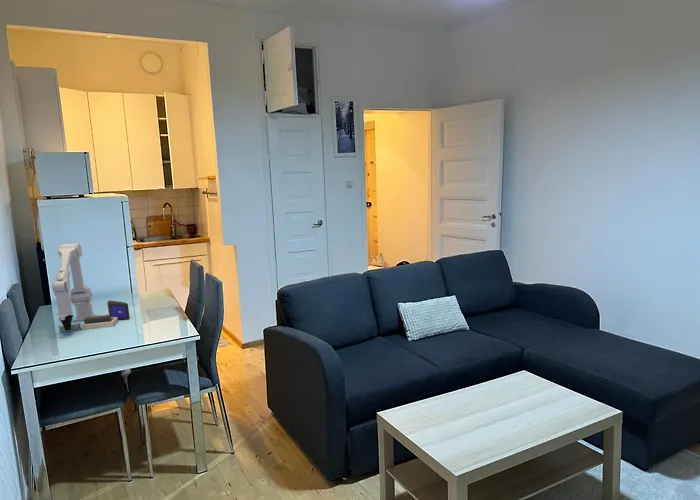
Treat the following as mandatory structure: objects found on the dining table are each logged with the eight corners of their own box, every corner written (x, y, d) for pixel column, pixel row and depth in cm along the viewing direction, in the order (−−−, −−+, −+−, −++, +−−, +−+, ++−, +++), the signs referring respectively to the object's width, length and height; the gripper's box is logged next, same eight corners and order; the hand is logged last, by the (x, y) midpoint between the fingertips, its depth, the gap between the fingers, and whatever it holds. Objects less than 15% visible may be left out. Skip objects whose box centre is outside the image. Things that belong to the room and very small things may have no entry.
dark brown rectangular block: (87, 326, 254) (85, 317, 253) (111, 323, 257) (110, 314, 256) (85, 328, 250) (83, 319, 249) (110, 325, 253) (109, 316, 252)
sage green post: (59, 332, 244) (58, 327, 243) (60, 332, 245) (59, 326, 244) (81, 329, 247) (80, 323, 247) (81, 328, 248) (80, 323, 248)
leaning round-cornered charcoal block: (104, 318, 267) (102, 301, 265) (112, 316, 271) (109, 299, 269) (123, 321, 259) (120, 304, 257) (130, 319, 262) (128, 302, 261)
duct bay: (88, 324, 256) (87, 319, 256) (118, 321, 259) (117, 316, 259) (82, 329, 248) (81, 325, 247) (113, 326, 250) (112, 321, 250)
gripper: (58, 301, 245) (63, 327, 248) (50, 308, 232) (55, 335, 234) (74, 299, 247) (78, 325, 250) (67, 306, 234) (71, 333, 236)
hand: (68, 330), depth 242 cm, fingers closed
